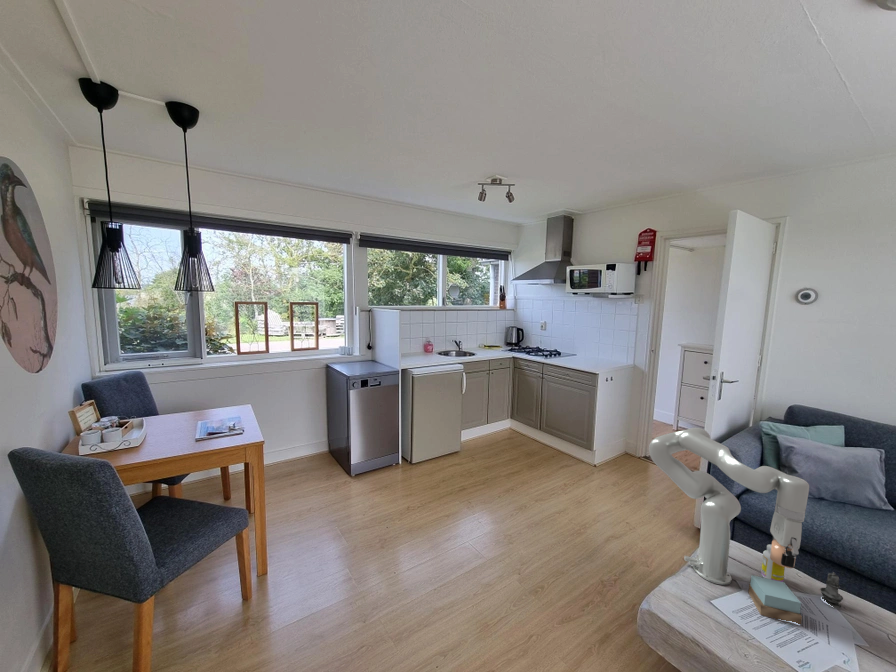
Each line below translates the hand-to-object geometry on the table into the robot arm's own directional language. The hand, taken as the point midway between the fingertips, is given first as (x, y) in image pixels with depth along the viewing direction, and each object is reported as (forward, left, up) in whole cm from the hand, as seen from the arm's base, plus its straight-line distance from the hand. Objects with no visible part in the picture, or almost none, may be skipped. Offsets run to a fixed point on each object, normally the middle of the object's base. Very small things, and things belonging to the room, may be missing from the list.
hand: (782, 558), depth 127 cm
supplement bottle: (+5, +19, -19) cm, 28 cm away
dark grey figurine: (+20, +13, -19) cm, 31 cm away
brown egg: (0, 0, -1) cm, 1 cm away
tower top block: (-1, 0, -16) cm, 16 cm away
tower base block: (-1, 0, -20) cm, 20 cm away
